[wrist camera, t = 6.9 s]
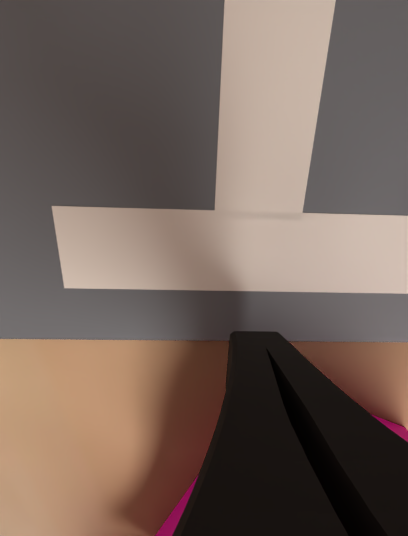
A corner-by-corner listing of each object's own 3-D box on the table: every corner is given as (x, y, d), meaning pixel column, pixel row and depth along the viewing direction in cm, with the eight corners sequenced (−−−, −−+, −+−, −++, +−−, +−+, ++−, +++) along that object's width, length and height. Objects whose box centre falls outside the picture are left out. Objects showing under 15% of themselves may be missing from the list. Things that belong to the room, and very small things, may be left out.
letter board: (789, -362, 5) (815, -384, 5) (477, 339, 10) (482, 343, 10) (-224, -482, 4) (-245, -513, 4) (-6, 334, 10) (-10, 338, 9)
